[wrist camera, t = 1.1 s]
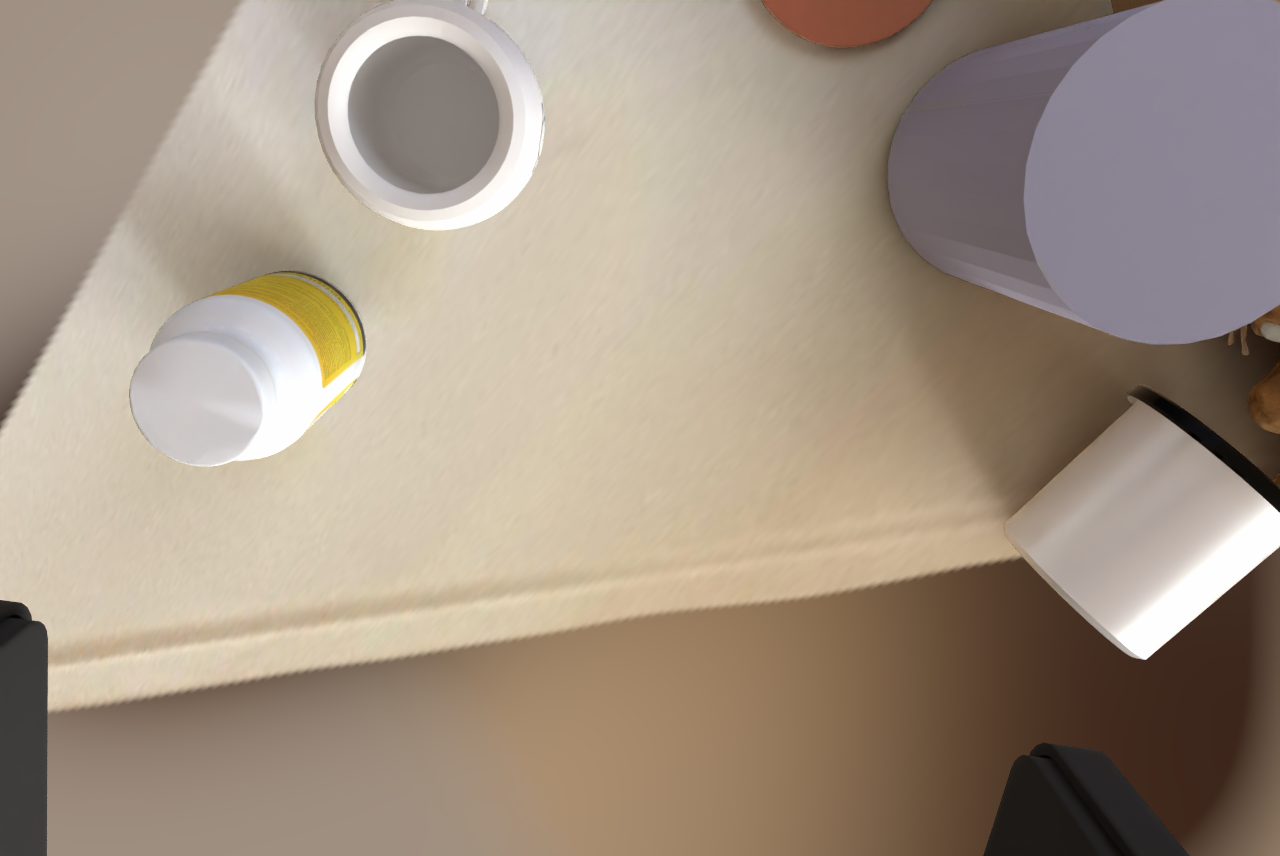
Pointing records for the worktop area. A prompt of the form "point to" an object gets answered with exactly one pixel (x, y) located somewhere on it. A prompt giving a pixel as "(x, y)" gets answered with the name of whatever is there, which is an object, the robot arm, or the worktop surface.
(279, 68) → the worktop surface
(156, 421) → the pill bottle
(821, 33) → the coaster
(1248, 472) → the mug
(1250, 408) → the stuffed squirrel
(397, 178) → the mug
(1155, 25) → the container
